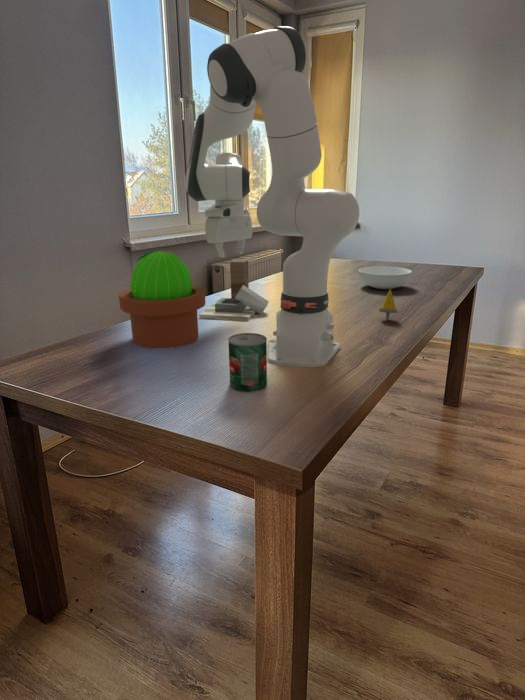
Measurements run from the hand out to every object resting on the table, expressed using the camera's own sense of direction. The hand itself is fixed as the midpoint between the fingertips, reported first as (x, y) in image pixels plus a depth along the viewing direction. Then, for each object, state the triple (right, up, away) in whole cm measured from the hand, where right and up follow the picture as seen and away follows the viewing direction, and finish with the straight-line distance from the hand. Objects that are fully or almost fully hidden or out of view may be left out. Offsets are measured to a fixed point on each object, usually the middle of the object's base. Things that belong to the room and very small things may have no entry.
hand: (230, 255), depth 153 cm
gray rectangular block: (+2, -11, +3) cm, 12 cm away
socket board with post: (0, -17, +9) cm, 19 cm away
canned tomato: (+7, -38, -51) cm, 64 cm away
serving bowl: (+59, -5, +43) cm, 74 cm away
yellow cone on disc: (+48, -21, -5) cm, 53 cm away
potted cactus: (-17, -28, -20) cm, 38 cm away
